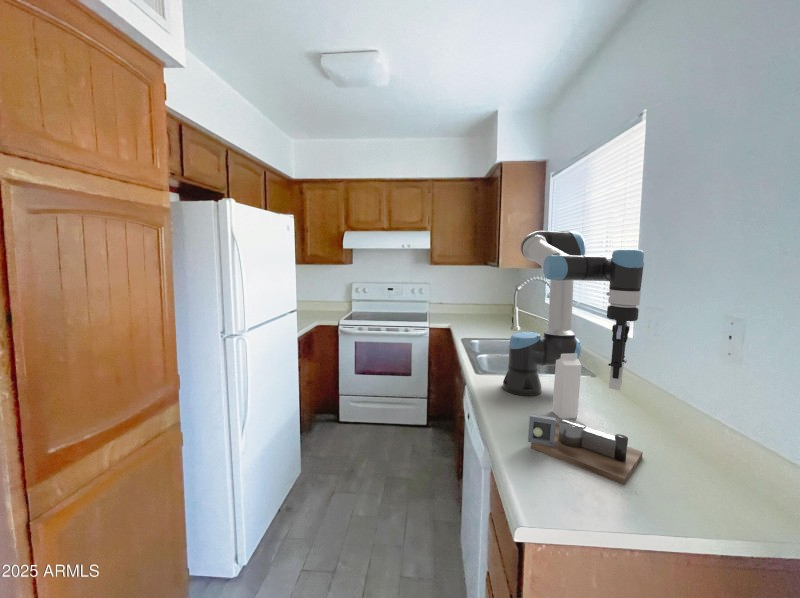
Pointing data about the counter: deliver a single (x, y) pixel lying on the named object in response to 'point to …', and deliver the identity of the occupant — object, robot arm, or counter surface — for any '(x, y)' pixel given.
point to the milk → (566, 386)
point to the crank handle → (592, 439)
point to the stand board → (592, 459)
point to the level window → (541, 430)
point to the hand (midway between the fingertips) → (615, 386)
